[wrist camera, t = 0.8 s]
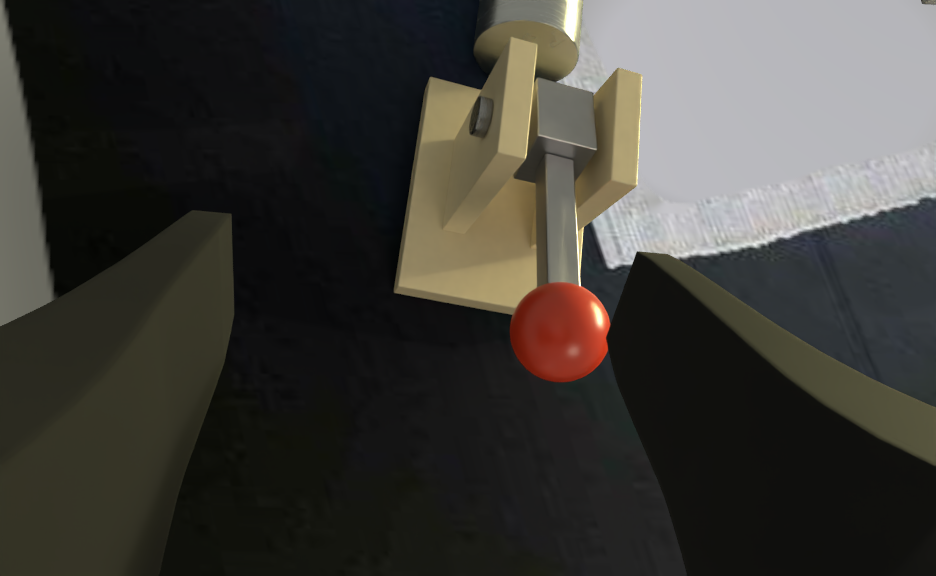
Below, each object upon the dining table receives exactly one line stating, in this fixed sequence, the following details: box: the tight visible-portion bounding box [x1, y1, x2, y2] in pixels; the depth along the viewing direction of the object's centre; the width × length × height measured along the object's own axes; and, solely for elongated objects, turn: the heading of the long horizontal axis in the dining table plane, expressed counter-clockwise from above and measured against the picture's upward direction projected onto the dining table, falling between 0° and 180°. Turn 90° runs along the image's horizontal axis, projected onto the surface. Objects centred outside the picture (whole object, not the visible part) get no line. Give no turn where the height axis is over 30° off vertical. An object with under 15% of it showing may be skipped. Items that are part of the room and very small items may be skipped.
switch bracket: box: [394, 37, 642, 315], centre depth 26 cm, size 10×8×9 cm
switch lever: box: [510, 78, 610, 382], centre depth 22 cm, size 11×3×3 cm, turn 173°
